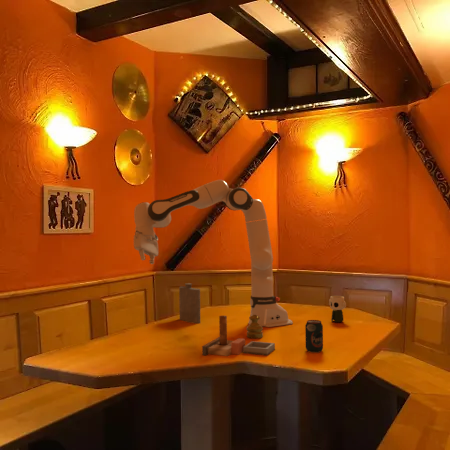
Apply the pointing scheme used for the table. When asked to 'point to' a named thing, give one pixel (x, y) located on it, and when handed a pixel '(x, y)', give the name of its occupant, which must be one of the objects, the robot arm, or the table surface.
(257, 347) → the tray
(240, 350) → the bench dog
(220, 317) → the dowel
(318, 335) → the soda can
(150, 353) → the table surface
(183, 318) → the hip flask
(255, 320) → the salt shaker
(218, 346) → the bench plate
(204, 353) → the clamp bar
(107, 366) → the table surface
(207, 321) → the table surface
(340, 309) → the bear figurine
